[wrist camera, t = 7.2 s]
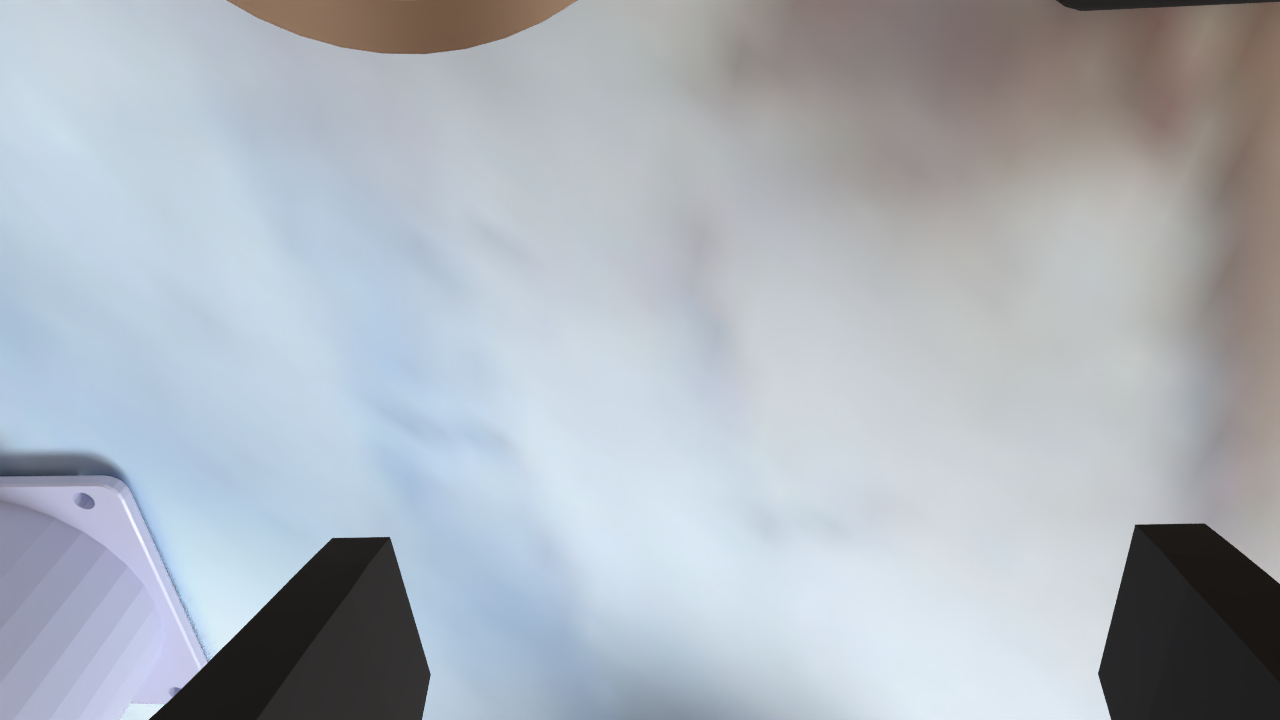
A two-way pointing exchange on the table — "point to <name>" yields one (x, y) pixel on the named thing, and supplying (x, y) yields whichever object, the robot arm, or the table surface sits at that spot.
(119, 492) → the robot arm
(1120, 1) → the cell phone
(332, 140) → the table surface
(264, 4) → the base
